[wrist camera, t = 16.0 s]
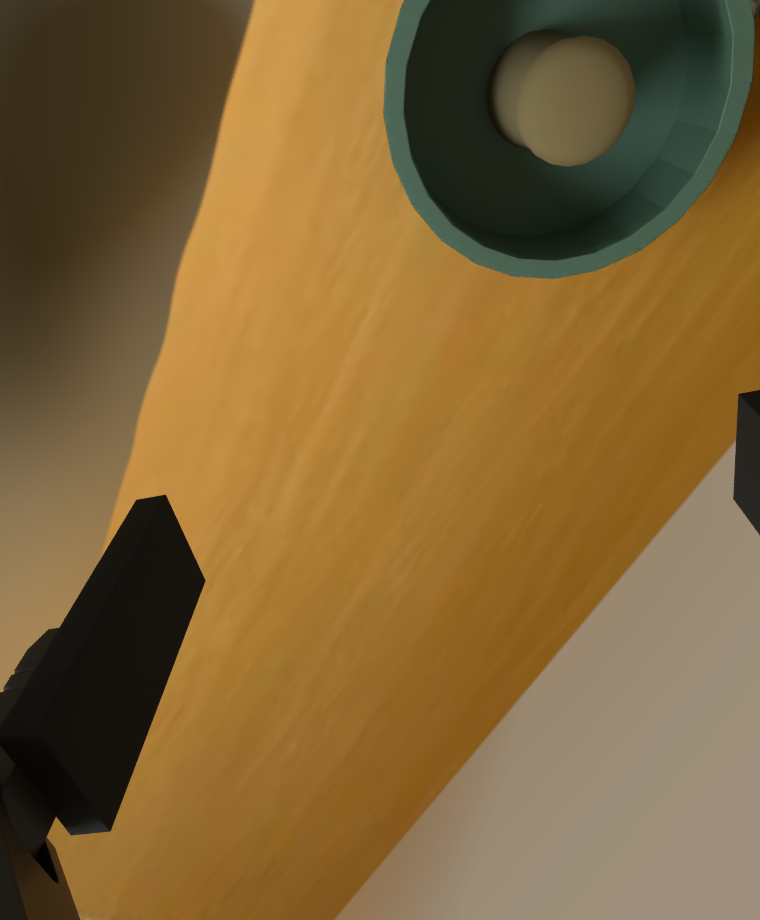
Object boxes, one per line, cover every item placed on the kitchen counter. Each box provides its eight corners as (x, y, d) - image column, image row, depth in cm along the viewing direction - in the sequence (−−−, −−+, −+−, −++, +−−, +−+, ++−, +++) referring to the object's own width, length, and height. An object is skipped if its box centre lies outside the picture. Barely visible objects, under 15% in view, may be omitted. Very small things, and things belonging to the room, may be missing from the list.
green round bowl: (358, -52, 36) (347, -75, 29) (695, -145, 34) (768, -193, 27) (417, 266, 45) (419, 305, 38) (689, 210, 42) (743, 242, 36)
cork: (521, 171, 41) (555, 209, 31) (465, 79, 38) (484, 90, 29) (613, 103, 39) (678, 122, 29) (560, 2, 36) (614, -14, 27)
